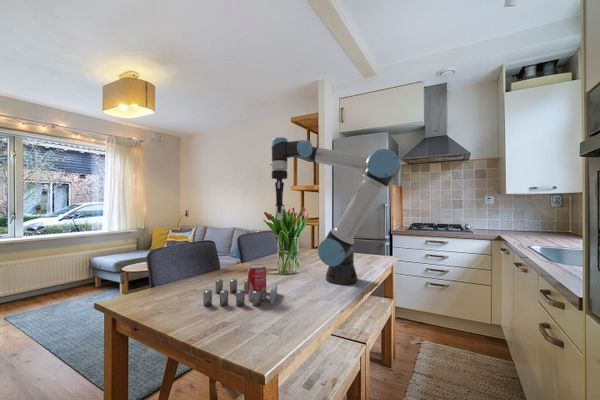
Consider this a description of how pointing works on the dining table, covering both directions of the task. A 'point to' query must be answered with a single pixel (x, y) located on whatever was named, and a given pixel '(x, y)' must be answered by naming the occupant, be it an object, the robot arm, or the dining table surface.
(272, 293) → the stop rail
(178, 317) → the dining table surface
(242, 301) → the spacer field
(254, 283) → the soda can
